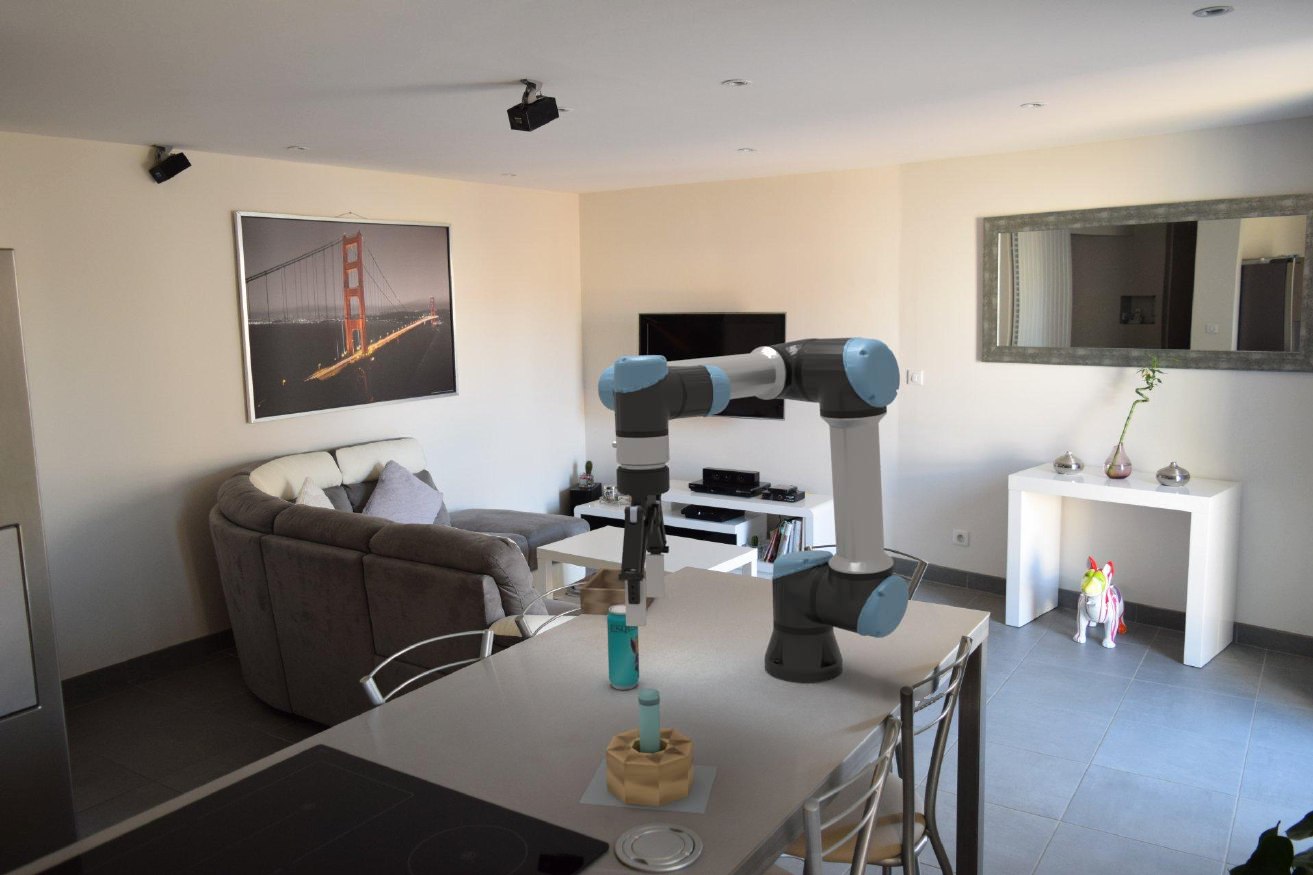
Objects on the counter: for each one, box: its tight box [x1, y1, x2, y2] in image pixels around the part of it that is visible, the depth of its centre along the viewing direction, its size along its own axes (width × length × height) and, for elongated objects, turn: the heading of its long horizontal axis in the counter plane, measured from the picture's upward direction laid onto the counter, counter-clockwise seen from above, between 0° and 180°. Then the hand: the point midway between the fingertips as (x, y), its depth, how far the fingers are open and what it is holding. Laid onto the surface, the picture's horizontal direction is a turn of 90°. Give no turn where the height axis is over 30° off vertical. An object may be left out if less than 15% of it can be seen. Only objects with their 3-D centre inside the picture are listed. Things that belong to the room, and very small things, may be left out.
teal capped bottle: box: [637, 688, 661, 754], centre depth 137 cm, size 3×3×14 cm
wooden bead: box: [605, 727, 694, 806], centre depth 137 cm, size 12×12×6 cm
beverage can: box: [606, 605, 640, 691], centre depth 176 cm, size 6×6×15 cm
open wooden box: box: [579, 568, 656, 616], centre depth 229 cm, size 15×19×6 cm
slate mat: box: [578, 757, 719, 815], centre depth 137 cm, size 18×14×1 cm
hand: (646, 610), depth 135 cm, fingers open, 13 cm apart
